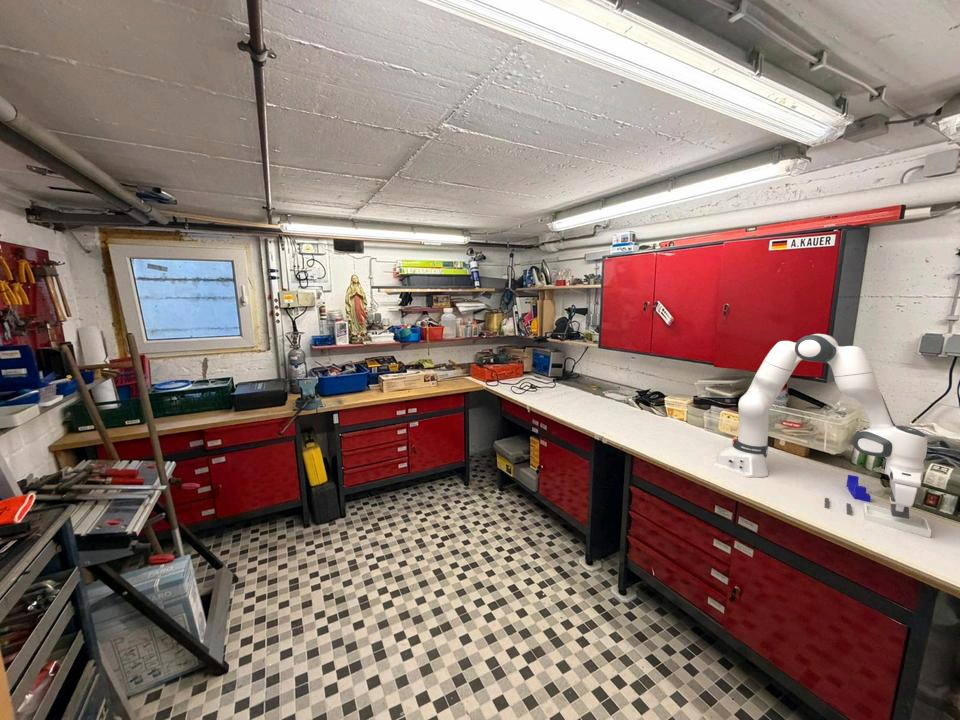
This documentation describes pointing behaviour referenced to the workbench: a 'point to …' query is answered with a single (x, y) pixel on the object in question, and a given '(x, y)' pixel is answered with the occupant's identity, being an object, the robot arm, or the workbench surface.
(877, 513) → the tray
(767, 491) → the workbench surface
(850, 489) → the blue stepped block
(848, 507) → the holder
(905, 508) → the grey block
